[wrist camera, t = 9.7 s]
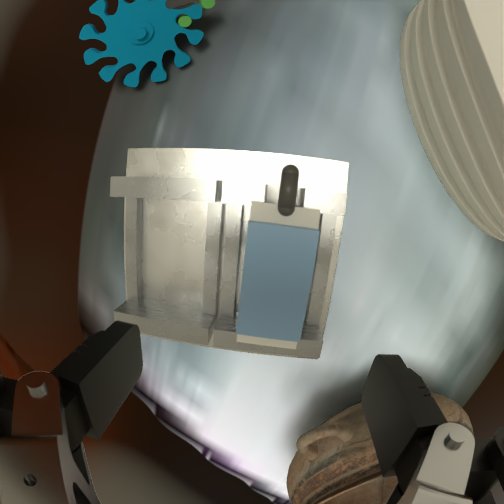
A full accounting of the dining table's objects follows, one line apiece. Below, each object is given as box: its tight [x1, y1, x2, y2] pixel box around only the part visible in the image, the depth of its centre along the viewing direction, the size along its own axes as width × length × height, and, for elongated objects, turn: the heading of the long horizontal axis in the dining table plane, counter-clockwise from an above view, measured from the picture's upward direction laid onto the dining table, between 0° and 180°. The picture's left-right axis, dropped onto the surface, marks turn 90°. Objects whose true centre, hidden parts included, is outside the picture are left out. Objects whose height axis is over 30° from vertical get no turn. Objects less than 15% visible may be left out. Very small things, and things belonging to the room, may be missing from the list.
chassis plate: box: [110, 148, 349, 359], centre depth 21 cm, size 16×17×5 cm
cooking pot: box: [287, 392, 474, 504], centre depth 20 cm, size 25×19×12 cm
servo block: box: [236, 164, 320, 349], centre depth 19 cm, size 12×4×5 cm, turn 173°
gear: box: [79, 0, 215, 87], centre depth 17 cm, size 11×6×10 cm
